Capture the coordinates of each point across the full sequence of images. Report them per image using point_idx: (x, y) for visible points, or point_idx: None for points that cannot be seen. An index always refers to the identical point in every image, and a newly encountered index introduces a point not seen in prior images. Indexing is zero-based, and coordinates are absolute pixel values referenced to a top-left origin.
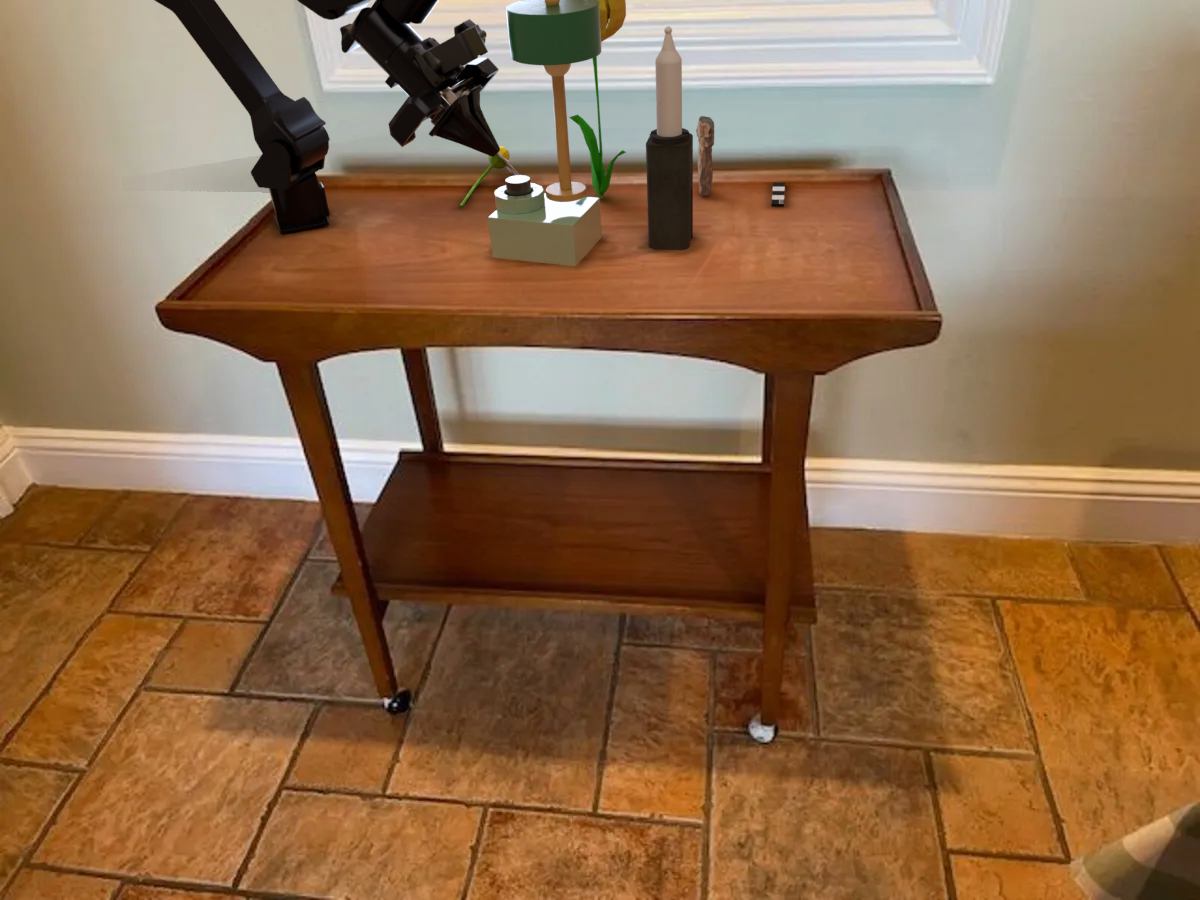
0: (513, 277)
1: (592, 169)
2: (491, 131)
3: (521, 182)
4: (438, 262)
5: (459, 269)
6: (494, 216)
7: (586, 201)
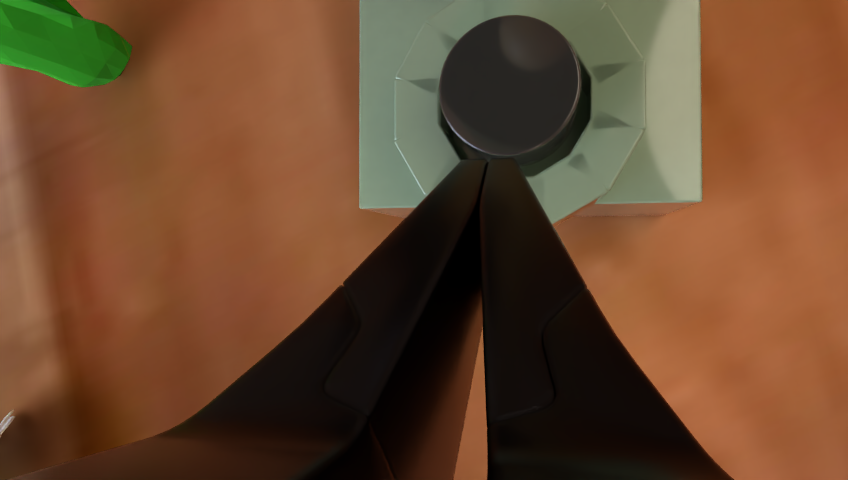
0: (814, 61)
1: (54, 46)
2: (393, 232)
3: (554, 37)
4: (758, 400)
5: (800, 291)
6: (683, 174)
7: None
